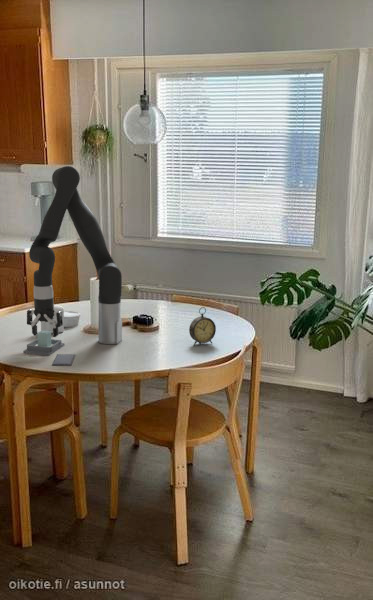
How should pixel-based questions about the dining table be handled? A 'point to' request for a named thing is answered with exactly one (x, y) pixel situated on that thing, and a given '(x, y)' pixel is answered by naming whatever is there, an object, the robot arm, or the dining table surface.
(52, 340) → the grey shallow rectangular tray
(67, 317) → the ramekin
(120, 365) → the dining table surface
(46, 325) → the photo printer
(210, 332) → the alarm clock
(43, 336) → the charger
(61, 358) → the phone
